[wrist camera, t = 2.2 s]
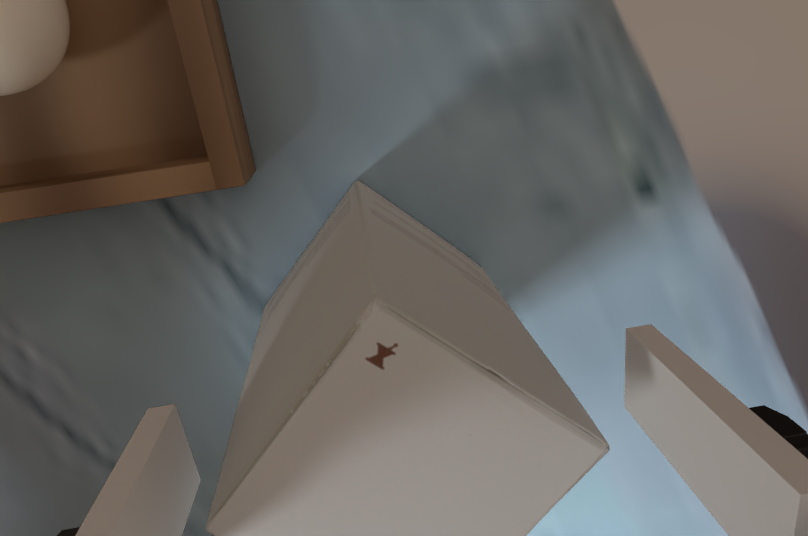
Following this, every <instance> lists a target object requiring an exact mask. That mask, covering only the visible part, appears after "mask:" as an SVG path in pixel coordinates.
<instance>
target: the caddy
mask: <svg viewBox="0 0 808 536" xmlns="http://www.w3.org/2000/svg"><path fill="white" fill-rule="evenodd" d="M65 1H66V4H67V8H68V12H69V19H70V36H69V43H68V46H67V50H66V53H65V55H64V57H63V59H62V61H61V62H60V64H59V65H58V67H57V68H56V70H55V71H54V72H53V73H52V74H51V75H50V76H49V77H48V78H47V79H45V80H44V81H43V82H41V83H40V84H38V85H36V86H34V87H32V88H31V89H28V90H26V91H23V92H20V93H15V94H11V95H6V96H0V223H4V222H10V221H17V220H23V219H30V218H36V217H43V216H49V215H56V214H62V213H69V212H75V211H82V210H88V209H95V208H101V207H108V206H114V205H121V204H128V203H134V202H141V201H147V200H154V199H160V198H167V197H173V196H180V195H186V194H193V193H199V192H206V191H212V190H219V189H225V188H232V187H238V186H245V185H246V183H247V182H248V181H249V179H250V178H251V177H252V175H253V174H254V173H255V171H256V168H255V164H254V159H253V155H252V150H251V146H250V142H249V137H248V133H247V129H246V124H245V120H244V116H243V111H242V107H241V102H240V98H239V94H238V89H237V85H236V81H235V76H234V72H233V68H232V63H231V59H230V54H229V50H228V46H227V41H226V37H225V33H224V28H223V24H222V20H221V15H220V11H219V7H218V2H217V0H65Z"/></svg>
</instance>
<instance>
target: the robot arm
mask: <svg viewBox="0 0 808 536" xmlns="http://www.w3.org/2000/svg"><path fill="white" fill-rule="evenodd" d="M625 408H626V409H627V411H628V412H629V413H630V414H631V416H632V417H633V418H634V419H635V420H636V422H637V423H638V424H639V425H640V427H641V428H642V429H643V430H644V432H645V433H646V434H647V435H648V437H649V438H650V439H651V440H652V442H653V443H654V444H655V445H656V446H657V448H658V449H659V450H660V451H661V453H662V454H663V455H664V456H665V458H666V459H667V460H668V461H669V463H670V464H671V465H672V466H673V468H674V469H675V470H676V471H677V473H678V474H679V475H680V476H681V477H682V479H683V480H684V481H685V482H686V484H687V485H688V486H689V487H690V489H691V490H692V491H693V492H694V494H695V495H696V496H697V497H698V499H699V500H700V501H701V502H702V503H703V505H704V506H705V507H706V508H707V510H708V511H709V512H710V513H711V515H712V516H713V517H714V518H715V520H716V521H717V522H718V523H719V525H720V526H721V527H722V528H723V530H724V531H725V532H726V533H727V534H728V536H808V435H807V433H806V431H805V430H804V429H803V428H801V427H800V426H799V425H798V424H796V423H795V422H794V421H793V420H791V419H790V418H789V417H787V416H785V415H783V414H781V413H779V412H777V411H775V410H773V409H770V408H768V407H766V406H764V405H763V406H758V407H752V408H748V407H747V406H746V405H744V404H743V403H742V402H741V401H740V400H739V399H737V398H736V397H735V396H734V395H733V394H732V393H730V392H729V391H728V390H727V389H726V388H725V387H723V386H722V385H721V384H720V383H719V382H718V381H716V380H715V379H714V378H713V377H712V376H711V375H710V374H708V373H707V372H706V371H705V370H704V369H703V368H701V367H700V366H699V365H698V364H697V363H696V362H694V361H693V360H692V359H691V358H690V357H689V356H687V355H686V354H685V353H684V352H683V351H682V350H680V349H679V348H678V347H677V346H676V345H675V344H673V343H672V342H671V341H670V340H669V339H668V338H667V337H665V336H664V335H663V334H662V333H661V332H660V331H658V330H657V329H656V328H655V327H654V326H653V325H651V324H650V325H644V326H638V327H632V328H626V351H625ZM200 482H201V479H200V476H199V473H198V470H197V467H196V464H195V461H194V458H193V455H192V452H191V449H190V446H189V444H188V441H187V438H186V435H185V432H184V429H183V426H182V423H181V420H180V417H179V414H178V411H177V408H176V405H175V404H172V405H166V406H160V407H154V408H148V409H147V411H146V413H145V414H144V416H143V418H142V420H141V421H140V423H139V425H138V427H137V428H136V430H135V432H134V434H133V435H132V437H131V439H130V441H129V442H128V444H127V446H126V448H125V449H124V451H123V453H122V455H121V456H120V458H119V460H118V462H117V463H116V465H115V467H114V469H113V470H112V472H111V474H110V476H109V477H108V479H107V481H106V483H105V484H104V486H103V488H102V490H101V491H100V493H99V495H98V497H97V498H96V500H95V502H94V504H93V505H92V507H91V509H90V511H89V513H88V514H87V516H86V518H85V520H84V521H83V523H82V525H81V527H78V528H73V529H67V530H62V531H61V532H60V533H59V534H58V535H57V536H182V534H183V531H184V528H185V525H186V522H187V520H188V517H189V514H190V511H191V508H192V505H193V502H194V499H195V496H196V493H197V491H198V488H199V485H200Z"/></svg>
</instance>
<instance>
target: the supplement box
mask: <svg viewBox="0 0 808 536" xmlns="http://www.w3.org/2000/svg"><path fill="white" fill-rule="evenodd" d="M608 451H609V445H608V443H607V441H606V440H605V438H604V437H603V435H602V434H601V432H600V431H599V430H598V428H597V427H596V425H595V424H594V422H593V421H592V419H591V418H590V416H589V415H588V413H587V412H586V411H585V409H584V408H583V406H582V405H581V403H580V402H579V401H578V399H577V398H576V396H575V395H574V394H573V392H572V391H571V389H570V388H569V387H568V385H567V384H566V383H565V381H564V380H563V379H562V377H561V376H560V374H559V373H558V372H557V370H556V369H555V368H554V366H553V365H552V364H551V362H550V361H549V359H548V358H547V357H546V355H545V354H544V353H543V351H542V350H541V349H540V347H539V346H538V345H537V343H536V342H535V341H534V339H533V338H532V336H531V335H530V334H529V332H528V331H527V330H526V328H525V327H524V326H523V324H522V323H521V321H520V320H519V319H518V317H517V316H516V315H515V313H514V312H513V310H512V309H511V308H510V306H509V305H508V304H507V302H506V301H505V300H504V298H503V297H502V295H501V294H500V293H499V291H498V290H497V288H496V287H495V286H494V284H493V283H492V281H491V280H490V278H489V277H488V275H487V274H486V273H485V271H484V270H483V268H482V267H480V266H479V265H478V264H476V263H475V262H474V261H473V260H471V259H470V258H469V257H467V256H466V255H465V254H463V253H462V252H460V251H459V250H458V249H456V248H455V247H453V246H452V245H451V244H449V243H448V242H446V241H445V240H444V239H442V238H441V237H439V236H438V235H436V234H435V233H434V232H432V231H431V230H429V229H428V228H426V227H425V226H424V225H422V224H421V223H419V222H418V221H416V220H415V219H414V218H412V217H411V216H409V215H408V214H406V213H405V212H403V211H402V210H401V209H399V208H398V207H396V206H395V205H393V204H392V203H391V202H389V201H388V200H386V199H385V198H383V197H382V196H380V195H379V194H378V193H376V192H375V191H373V190H372V189H370V188H369V187H367V186H366V185H365V184H363V183H362V182H360V181H359V180H356V181H355V182H354V183H353V184H352V186H351V187H350V189H349V190H348V191H347V193H346V194H345V196H344V197H343V198H342V200H341V201H340V202H339V204H338V205H337V207H336V208H335V209H334V211H333V212H332V214H331V215H330V216H329V218H328V219H327V221H326V222H325V223H324V225H323V226H322V227H321V229H320V230H319V232H318V233H317V234H316V236H315V237H314V239H313V240H312V241H311V243H310V244H309V245H308V247H307V248H306V250H305V251H304V252H303V254H302V255H301V256H300V258H299V259H298V261H297V262H296V263H295V265H294V266H293V267H292V269H291V270H290V272H289V273H288V274H287V276H286V277H285V278H284V280H283V281H282V283H281V284H280V285H279V287H278V288H277V290H276V291H275V292H274V294H273V295H272V297H271V298H270V300H269V301H268V303H267V304H266V305H265V307H264V310H263V314H262V318H261V322H260V326H259V330H258V333H257V337H256V341H255V344H254V348H253V353H252V356H251V360H250V363H249V367H248V371H247V374H246V378H245V382H244V386H243V389H242V393H241V396H240V400H239V403H238V407H237V411H236V414H235V418H234V422H233V426H232V429H231V433H230V437H229V441H228V445H227V449H226V453H225V456H224V459H223V463H222V467H221V471H220V475H219V479H218V483H217V486H216V490H215V494H214V498H213V501H212V505H211V508H210V512H209V516H208V521H207V525H206V530H207V532H208V533H210V534H212V535H214V536H526V535H527V534H528V533H529V532H530V531H531V530H532V529H533V528H534V527H535V526H536V524H537V523H538V522H539V521H540V520H541V519H542V518H543V517H544V516H545V515H546V514H547V513H548V512H549V511H550V509H551V508H552V507H553V506H554V505H555V504H556V503H557V502H558V501H559V500H560V499H561V498H562V497H563V496H564V495H565V494H566V493H567V492H568V491H569V490H570V489H571V488H572V487H573V486H574V485H575V484H576V483H577V482H578V481H579V480H580V479H581V478H582V477H583V476H584V475H585V474H586V473H587V472H588V471H589V470H590V469H591V468H592V467H593V466H594V465H595V464H596V463H597V462H598V461H599V460H600V459H601V458H602V457H603V456H604V455H605V454H606V453H607V452H608Z"/></svg>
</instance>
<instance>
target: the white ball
mask: <svg viewBox="0 0 808 536" xmlns="http://www.w3.org/2000/svg"><path fill="white" fill-rule="evenodd" d="M69 36H70V19H69V12H68V8H67V4H66V1H65V0H0V96H6V95H11V94H15V93H20V92H23V91H26V90H28V89H31V88H32V87H34V86H36V85H38V84H40V83H41V82H43V81H44V80H45V79H47V78H48V77H49V76H50V75H51V74H52V73H53V72H54V71H55V70H56V68H57V67H58V65H59V64H60V62H61V61H62V59H63V57H64V55H65V53H66V50H67V46H68V43H69Z"/></svg>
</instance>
